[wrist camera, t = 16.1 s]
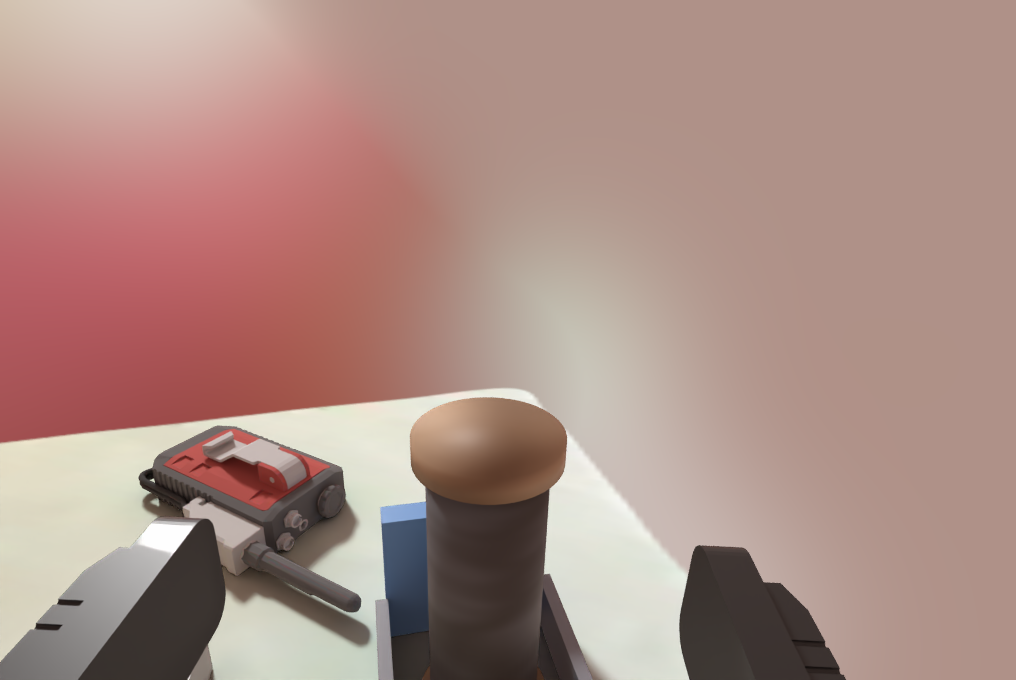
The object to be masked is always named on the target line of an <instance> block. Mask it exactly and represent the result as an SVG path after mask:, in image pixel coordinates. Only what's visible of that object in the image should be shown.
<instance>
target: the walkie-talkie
mask: <svg viewBox="0 0 1016 680" xmlns="http://www.w3.org/2000/svg"><path fill="white" fill-rule="evenodd" d="M151 479H154V480H155V483H154V482H152V481H150V480H151ZM139 480H140V485H141V486H142V488H143V489H145V490H147V491H149V492H151V493H153V494H155V495H157V496H158V498H159V499H162V500H163V502H168V504H169V505H170V504H172V505H173V506H174V507H178V508H179V510H182V511H183V513H184V517H186V518H206V519H209V520H210V521H211V522H212V523H213V526H214V529H215V534H216V540H217V545H218V550H219V556H220V561H221V565H223V566H225V567H227V570H228V572H230V573H232V574H234V575H236V576H238V575H240V574H241V573H242V572H244V571H245V570H246V569H248V568H249V567H252V568H254V569H255V570H257V571H263V570H264V571H266V572H268V573H270V574H271V575H273V576H275V577H277V578H279V579H281V580H283V581H285V582H287V583H288V584H290V585H292V586H294V587H296V588H298V589H300V590H302V591H303V592H305V593H307V594H309V595H315V596H317V597H319V598H320V599H322V600H324V601H326V602H328V603H330V604H332V605H334V606H336V607H338V608H340V609H342V610H344V611H346V612H357V611H358V610H359V608H360V607H361V598H360V597H359V595H358V594H356V593H354V592H352V591H350V590H348V589H346V588H344V587H342V586H340V585H338V584H336V583H334V582H332V581H330V580H328V579H326V578H324V577H322V576H320V575H318V574H316V573H314V572H312V571H310V570H308V569H306V568H304V567H302V566H300V565H298V564H296V563H294V562H292V561H290V560H288V559H286V558H284V557H282V556H280V555H278V554H276V553H277V552H279V551H280V550H286V551H288V550H290V549H291V548H292V546H293V545H294V541H293V540H294V539H296V538H297V537H298V536H300V535H301V534H302V533H304V532H305V531H306V530H308V529H309V528H310V527H311V526H313V525H314V524H315V523H317V522H318V521H319V520H321V519H322V518H323V517H326V518H330V517H333V516H335V515H336V514H337V513H338V512H339V511H340V510H341V508H342V507H343V505H344V502H345V496H346V494H345V489H344V480H343V470H342V468H341V467H339V466H337V465H334V464H332V463H329V462H326V461H324V460H321V459H319V458H316V457H314V456H311V455H308V454H306V453H303V452H301V451H298V450H295V449H291V448H290V447H286V446H284V445H281V444H279V443H276V442H273V441H272V440H268V439H267V438H263V437H262V436H258V435H256V434H253V433H251V432H247V431H246V430H242V429H241V428H237V427H232V426H215V427H213V428H211V429H208V430H206V431H204V432H202V433H200V434H198V435H196V436H194V437H192V438H190V439H188V440H186V441H184V442H182V443H180V444H178V445H176V446H174V447H172V448H170V449H168V450H166V451H164V452H162V453H161V454H159V455H158V456H157V457H156V459H155V460H154V464H153V468H151V469H148V470H145V471H143V472H142V473H141V474H140V475H139Z"/></svg>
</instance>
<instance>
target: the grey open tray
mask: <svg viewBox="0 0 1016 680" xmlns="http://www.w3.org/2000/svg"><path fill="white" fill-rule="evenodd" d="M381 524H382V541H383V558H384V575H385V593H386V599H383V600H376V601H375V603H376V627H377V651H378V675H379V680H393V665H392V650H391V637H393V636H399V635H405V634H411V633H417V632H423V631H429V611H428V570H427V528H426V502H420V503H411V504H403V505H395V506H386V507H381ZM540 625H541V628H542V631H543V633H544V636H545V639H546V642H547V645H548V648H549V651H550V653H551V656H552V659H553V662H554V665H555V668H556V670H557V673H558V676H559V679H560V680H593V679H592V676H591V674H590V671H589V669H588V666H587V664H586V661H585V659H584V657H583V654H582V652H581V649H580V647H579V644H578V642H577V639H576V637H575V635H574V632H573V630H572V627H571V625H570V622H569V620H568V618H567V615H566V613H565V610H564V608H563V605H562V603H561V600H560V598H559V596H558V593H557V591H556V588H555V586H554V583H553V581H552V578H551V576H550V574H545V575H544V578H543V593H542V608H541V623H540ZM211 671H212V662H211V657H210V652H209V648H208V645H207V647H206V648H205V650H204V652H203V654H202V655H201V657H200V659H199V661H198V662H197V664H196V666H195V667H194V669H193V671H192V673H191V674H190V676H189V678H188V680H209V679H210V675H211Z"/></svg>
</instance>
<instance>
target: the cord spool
mask: <svg viewBox="0 0 1016 680" xmlns="http://www.w3.org/2000/svg"><path fill="white" fill-rule="evenodd" d="M566 447H567V435H566V431H565V429H564V427H563V425H562V424H561V423H560V422H559V421H558V420H557V419H556V418H555V417H554V416H553V415H551V414H550V413H548V412H547V411H545V410H543V409H541V408H539V407H536V406H534V405H531V404H528V403H525V402H521V401H516V400H511V399H504V398H470V399H463V400H457V401H453V402H449V403H446V404H443V405H440V406H438V407H436V408H433V409H432V410H430V411H428V412H427V413H425V414H424V415H422V416H421V417H420V418H419V419H418V420H417V421H416V422H415V424H414V425H413V427H412V429H411V433H410V450H411V467H412V470H413V472H414V474H415V476H416V478H417V479H418V480H419V481H420V482H421V483H422V484H423V485H424V486H425V487H426V528H427V570H428V611H429V653H430V665H429V667H428V668H427V670H426V672H425V674H424V676H423V679H422V680H544V677H543V675H542V672H541V671H540V669H539V667H538V652H539V637H540V623H541V608H542V593H543V578H544V563H545V548H546V533H547V518H548V504H549V489H550V488H551V487H552V486H553V485H554V484H555V483H556V482H557V481H558V480H559V479H560V477H561V476H562V474H563V472H564V468H565V460H566Z"/></svg>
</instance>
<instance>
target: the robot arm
mask: <svg viewBox="0 0 1016 680" xmlns="http://www.w3.org/2000/svg"><path fill="white" fill-rule="evenodd" d="M225 595H226V591H225V583H224V578H223V572H222V567H221V561H220V556H219V550H218V545H217V540H216V534H215V529H214V526H213V523H212V522H211V521H210V520H209V519H206V518H186V517H167V516H162V517H159V518H157V519H155V520H154V521H153V522H152V523H151V524H150V525H149V526H148V527H147V528H146V530H145V531H144V532H143V533H142V534H141V535H140V536H139V538H138V539H137V540H136V541H135V542H134V543H133V545H132V546H131V547H130V548H123V547H119V548H118V549H116V550H115V551H113V552H112V553H110V554H109V555H107V556H106V557H104V558H103V559H101V560H100V561H98V562H97V563H95V564H94V565H92V566H91V567H89V568H88V569H86V570H85V571H84V572H83V573H82V574H81V575H80V576H79V577H78V578H77V579H76V580H75V581H74V583H73V584H72V585H71V586H70V587H69V588H68V589H67V590H66V591H65V592H64V593H63V595H62V596H61V597H60V598H59V599H58V603H57V605H52V606H51V608H50V609H49V610H48V611H47V612H46V613H45V614H44V615H43V616H42V617H41V618H40V620H39V621H38V622H37V623H36V627H35V629H34V630H29V631H28V633H27V634H26V635H25V636H24V637H23V638H22V639H21V640H20V641H19V642H18V643H17V645H16V646H15V647H14V648H13V649H12V650H11V651H10V652H9V653H8V654H7V655H6V656H5V658H4V659H3V660H2V661H1V662H0V680H188V678H189V676H190V674H191V673H192V671H193V669H194V667H195V666H196V664H197V662H198V661H199V659H200V657H201V655H202V654H203V652H204V650H205V648H206V647H207V645H208V643H209V641H210V640H211V638H212V636H213V634H214V633H215V631H216V629H217V627H218V625H219V622H220V620H221V617H222V613H223V610H224V605H225ZM679 631H680V643H681V649H682V654H683V658H684V662H685V665H686V669H687V672H688V676H689V679H690V680H846V679H845V677H844V675H841V674H840V672H839V666H838V664H837V662H836V660H835V659H834V657H833V655H832V653H831V651H830V649H829V648H826V647H825V641H824V639H823V637H822V635H821V633H820V631H819V629H818V628H817V626H816V624H815V622H814V620H813V618H812V617H811V615H810V613H809V611H808V610H807V609H806V608H805V607H804V606H803V605H802V604H801V603H800V602H799V601H798V600H797V599H796V598H795V597H794V596H793V595H792V594H791V593H790V592H789V591H788V590H787V589H786V588H785V587H784V586H783V585H782V584H781V583H764V582H763V581H762V578H761V576H760V575H759V573H758V570H757V568H756V566H755V564H754V562H753V560H752V558H751V556H750V554H749V553H748V551H747V550H746V549H744V548H739V547H719V546H700V545H699V546H697V547H695V549H694V551H693V555H692V559H691V564H690V569H689V574H688V579H687V583H686V588H685V593H684V598H683V603H682V607H681V613H680V623H679Z"/></svg>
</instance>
